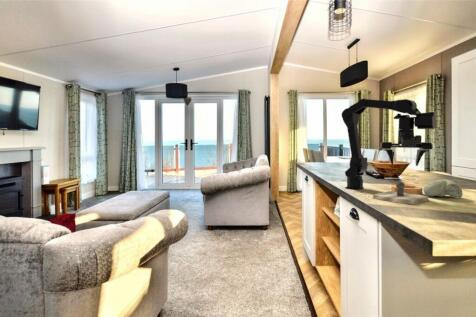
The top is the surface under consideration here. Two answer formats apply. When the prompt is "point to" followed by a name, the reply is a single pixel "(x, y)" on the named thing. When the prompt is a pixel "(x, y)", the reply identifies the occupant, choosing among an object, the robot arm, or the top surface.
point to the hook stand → (401, 196)
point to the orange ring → (409, 189)
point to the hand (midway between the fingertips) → (404, 165)
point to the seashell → (443, 188)
